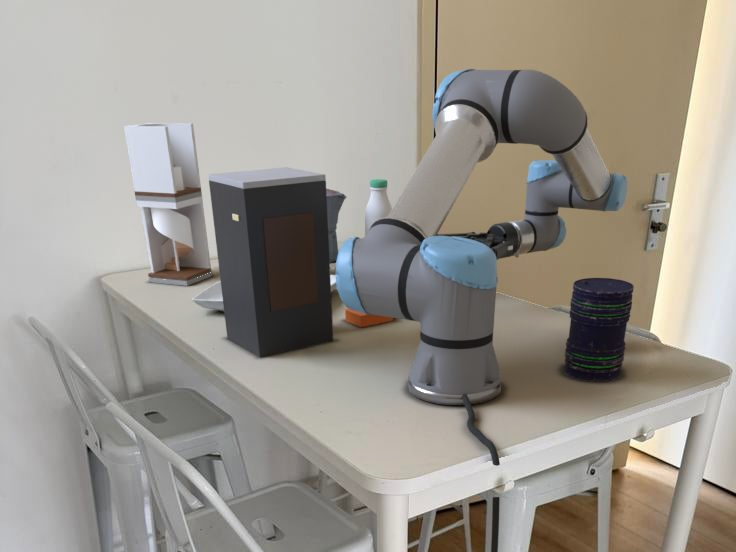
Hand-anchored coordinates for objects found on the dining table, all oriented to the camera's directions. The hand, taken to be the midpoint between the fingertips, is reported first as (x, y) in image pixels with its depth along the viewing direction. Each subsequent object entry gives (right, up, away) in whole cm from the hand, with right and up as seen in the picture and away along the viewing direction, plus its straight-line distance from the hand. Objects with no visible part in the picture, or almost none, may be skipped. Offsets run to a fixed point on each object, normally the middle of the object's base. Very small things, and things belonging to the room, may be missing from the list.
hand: (435, 252), depth 164 cm
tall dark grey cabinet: (-32, -22, -13) cm, 40 cm away
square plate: (-36, -8, +11) cm, 39 cm away
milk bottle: (-12, +15, +49) cm, 53 cm away
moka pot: (-28, +14, +48) cm, 57 cm away
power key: (-9, -13, +1) cm, 16 cm away
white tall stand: (-63, +3, +31) cm, 70 cm away
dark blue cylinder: (+25, -31, -31) cm, 51 cm away
